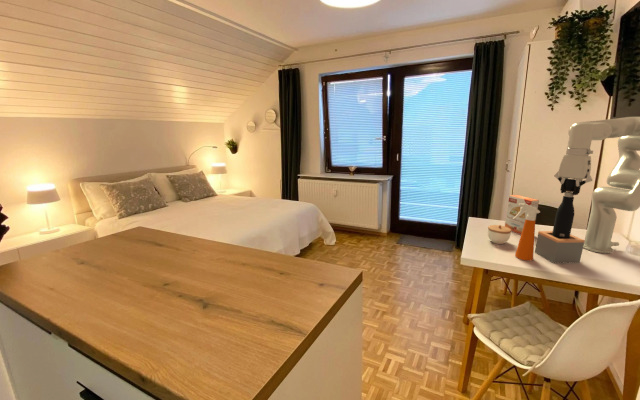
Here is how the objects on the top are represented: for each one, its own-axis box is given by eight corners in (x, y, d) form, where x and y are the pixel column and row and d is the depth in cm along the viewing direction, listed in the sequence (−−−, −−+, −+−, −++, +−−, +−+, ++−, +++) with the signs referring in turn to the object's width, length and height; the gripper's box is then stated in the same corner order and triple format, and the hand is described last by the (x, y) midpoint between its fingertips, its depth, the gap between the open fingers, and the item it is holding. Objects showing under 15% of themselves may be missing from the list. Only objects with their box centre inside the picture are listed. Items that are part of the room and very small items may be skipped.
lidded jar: (508, 240, 162) (511, 223, 160) (510, 247, 153) (513, 229, 151) (486, 237, 167) (488, 221, 165) (486, 243, 158) (488, 226, 155)
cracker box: (503, 228, 180) (508, 195, 175) (511, 227, 182) (516, 194, 177) (525, 236, 167) (531, 200, 162) (533, 235, 169) (539, 199, 164)
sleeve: (558, 252, 147) (563, 231, 144) (579, 263, 135) (584, 240, 132) (534, 252, 147) (538, 231, 144) (553, 263, 135) (558, 240, 132)
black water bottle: (560, 240, 142) (572, 178, 135) (571, 245, 136) (585, 180, 129) (547, 240, 142) (559, 178, 135) (558, 245, 136) (571, 181, 128)
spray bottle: (504, 253, 146) (512, 201, 139) (528, 255, 143) (538, 202, 137) (509, 259, 139) (518, 205, 133) (535, 261, 137) (546, 206, 130)
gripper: (606, 153, 123) (596, 196, 128) (560, 150, 138) (553, 189, 142) (597, 154, 120) (587, 198, 124) (551, 151, 135) (544, 191, 139)
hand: (569, 193), depth 133 cm, fingers closed on black water bottle, 3 cm apart
